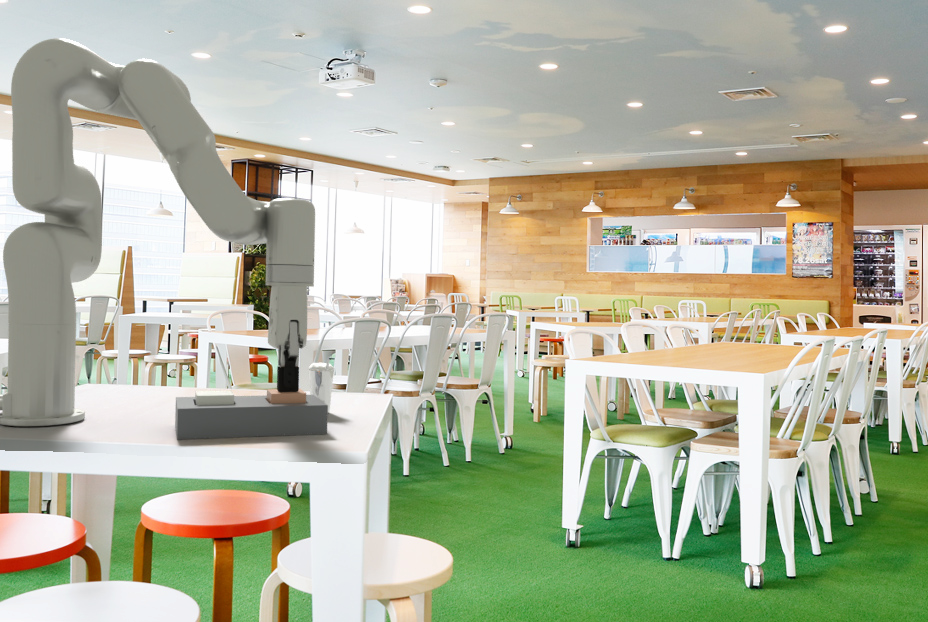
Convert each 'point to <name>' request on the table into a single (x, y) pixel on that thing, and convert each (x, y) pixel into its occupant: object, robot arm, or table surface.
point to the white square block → (214, 397)
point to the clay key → (285, 396)
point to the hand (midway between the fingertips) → (287, 391)
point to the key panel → (249, 418)
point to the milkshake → (321, 381)
